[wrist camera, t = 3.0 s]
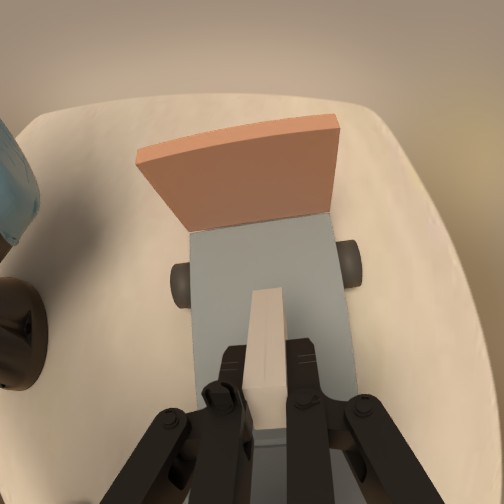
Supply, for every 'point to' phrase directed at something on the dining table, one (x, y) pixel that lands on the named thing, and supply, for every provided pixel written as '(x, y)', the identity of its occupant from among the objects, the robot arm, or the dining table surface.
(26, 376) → the robot arm
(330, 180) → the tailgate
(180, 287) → the pickup bed
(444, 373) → the dining table surface
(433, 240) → the dining table surface
